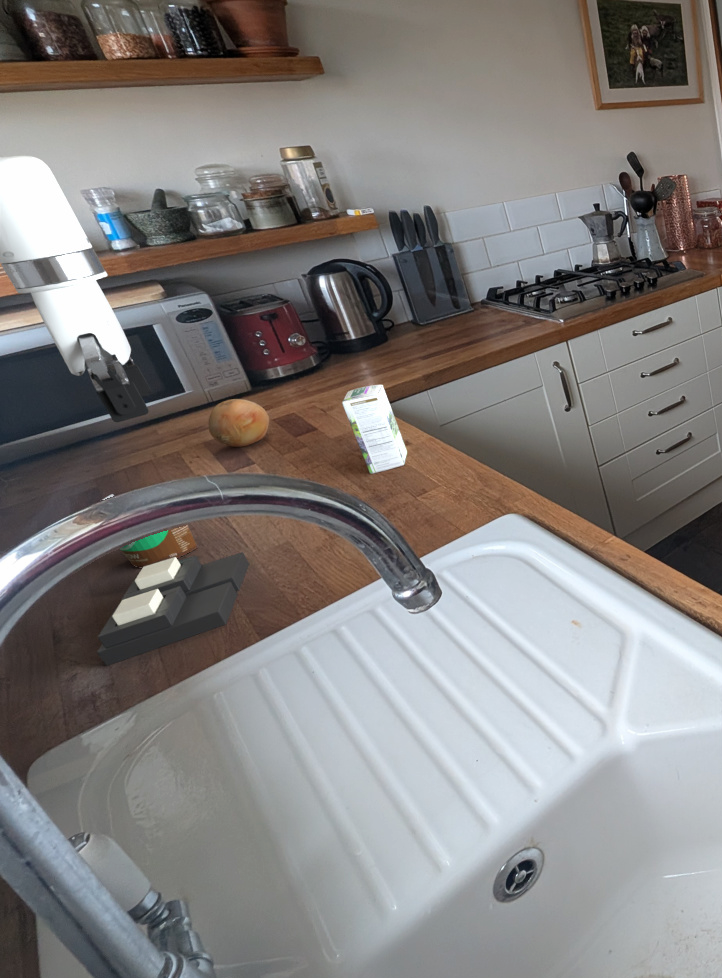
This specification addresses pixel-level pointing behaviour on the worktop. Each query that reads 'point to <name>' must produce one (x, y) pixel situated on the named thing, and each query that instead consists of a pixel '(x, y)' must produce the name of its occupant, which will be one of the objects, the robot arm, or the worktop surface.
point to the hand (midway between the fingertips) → (134, 407)
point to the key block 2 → (167, 622)
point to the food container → (159, 546)
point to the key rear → (158, 573)
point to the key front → (138, 607)
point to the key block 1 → (200, 576)
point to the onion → (238, 422)
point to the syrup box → (375, 428)
